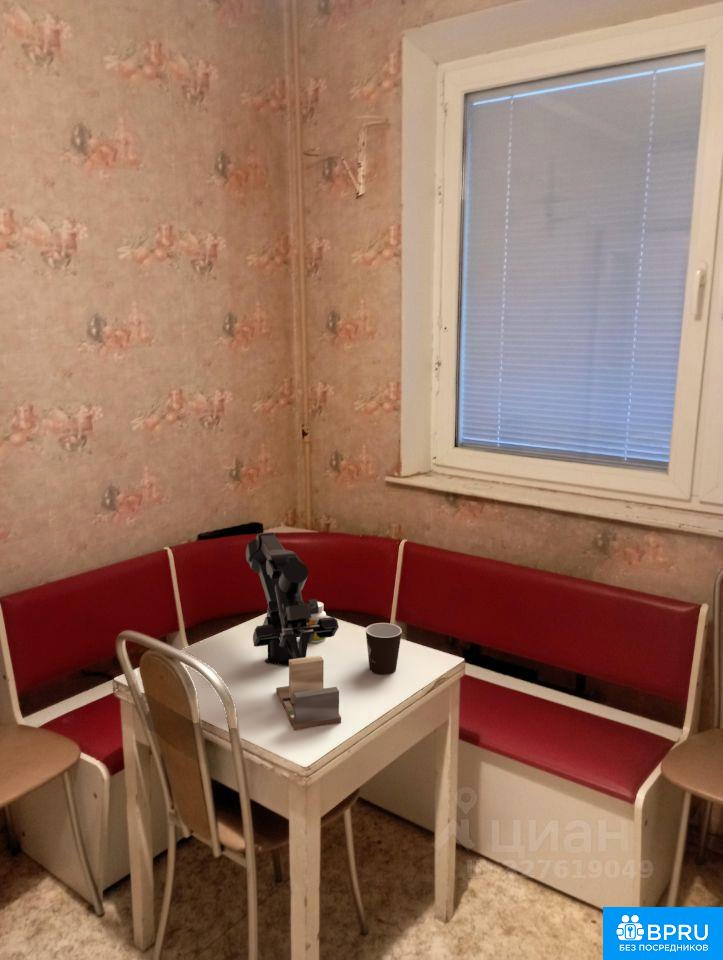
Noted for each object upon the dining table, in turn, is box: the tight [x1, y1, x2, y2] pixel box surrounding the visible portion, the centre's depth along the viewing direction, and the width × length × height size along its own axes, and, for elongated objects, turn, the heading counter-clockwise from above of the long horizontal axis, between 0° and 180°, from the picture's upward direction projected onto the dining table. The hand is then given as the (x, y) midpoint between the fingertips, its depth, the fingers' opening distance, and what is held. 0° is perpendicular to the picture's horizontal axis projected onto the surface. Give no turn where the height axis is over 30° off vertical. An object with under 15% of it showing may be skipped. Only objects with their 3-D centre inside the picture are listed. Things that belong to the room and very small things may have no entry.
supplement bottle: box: [307, 601, 327, 644], centre depth 189 cm, size 5×5×10 cm
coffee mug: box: [365, 622, 403, 676], centre depth 174 cm, size 12×9×10 cm
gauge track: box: [275, 685, 342, 731], centre depth 154 cm, size 16×10×7 cm, turn 19°
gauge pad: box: [283, 655, 325, 704], centre depth 155 cm, size 2×9×9 cm, turn 109°
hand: (302, 668), depth 157 cm, fingers closed
